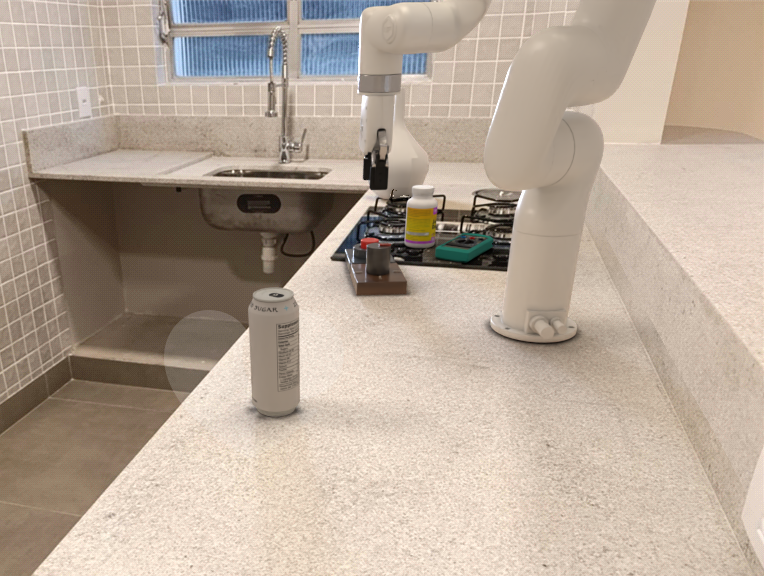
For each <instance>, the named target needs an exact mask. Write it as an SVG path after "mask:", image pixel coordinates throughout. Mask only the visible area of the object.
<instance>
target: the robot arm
mask: <svg viewBox="0 0 764 576" xmlns="http://www.w3.org/2000/svg"><path fill="white" fill-rule="evenodd" d="M656 2H657V0H579V2H578V5H577V7H576V9H575V12H574V14H573V17H572V19H571V21H570V22H569V24H568V25H556V26H549V27H546V28H543V29H541V30H539V31H537V32H535V33H533V34H532V35H530V37H529V38H528V39H527V40H525V41H524V43H523V44H522V45H521V46H520V47H519V49H518V50H517V52H516V54H515V55H514V56H513V59H512V61H511V63H510V66H509V67H508V70H507V74H506V77H505V79H504V83H503V85H502V88H501V92H500V94H499V98H498V100H497V104H496V106H495V111H494V113H493V116H492V120H491V121H490V125H489V129H488V132H487V135H486V138H485V143H484V147H483V157H482V158H483V159H482V161H483V169H484V172H485V174H486V177H487V179H488V180H489V181H490V183H491V184H493V185H494V186H495V187H496V188H497V189H500V190H502V191H505V192H521V194H520V196H519V198H518V201H517V204H516V207H515V211H514V217H513V224H512V229H511V230H512V231H511V239H510V246H509V253H508V254H509V255H508V261H507V269H506V270H507V271H506V277H505V278H506V279H505V287H504V294H503V302H502V310H500V311H497V312H495V313H494V314H493V315H491V317H490V323H489V326H490V327H491V330H493V331H494V332H496V333H497V334H499V335H502V336H504V337H506V338H509V339H513V340H517V341H522V342H528V343H530V342H531V343H543V344H544V343H545V344H546V343H558V342H564V341H568V340H570V339H572V338H573V337H574V336H576V334H577V332H578V323H577V322H576V321H575V319H573V318H571V317H569V313H570V306H571V300H572V295H573V288H574V282H575V277H576V272H577V266H578V259H579V254H580V247H581V242H582V235H583V230H584V227H585V226H584V225H585V219H586V214H587V209H588V205H589V200H590V196H591V193H592V190H593V186H594V183H595V180H596V178H597V175H598V172H599V169H600V167H601V164H602V160H603V156H604V155H603V154H604V149H605V139H604V135H603V131H602V128H601V127H600V125H599V123H598V122H597V121H596V120H595V119H594V118H593V117H591V116H590V115H588V114H585V113H584V112H579V111H574V110H567V108H575V107H576V108H577V107H584V106H589V105H595V104H599V103H602V102H604V101H606V100H608V99H609V98H610V97H612V96H614V95H615V93H616V92H617V91H618V89H619V88H620V87H621V85H622V83H623V81H624V79H625V78H626V75H627V72H628V71H629V68H630V66H631V63H632V60H633V58H634V56H635V53H636V51H637V49H638V46H639V45H640V41H641V40H642V37H643V35H644V33H645V30H646V28H647V26H648V23H649V21H650V18H651V16H652V13H653V10H654V8H655V5H656ZM491 3H492V0H442V1H405V2H403V1H402V2H397V3H393V4H391V5H378V6H377V5H376V6H369V7H366V8H364V9H363V10H362V11H361V14H360V20H359V42H358V43H359V45H358V47H359V48H358V73H357V74H358V76H357V81H358V82H357V95H358V96H362V100H361V105H360V106H361V108H360V120H359V121H360V122H359V136H358V149H359V150H360V151H361V152H362V154H363V157H364V158H363V163H362V180H363V181H368V180H370V185H368V186H369V188H368V189H369V190H370V191H372V190H387V188H388V172H389V167H388V154H389V153H390V152H391V148H392V138H393V120H394V106H395V95H399V94H401V88H402V78H403V77H402V75H403V59H404V55H417V54H435V53H442V52H446V51H448V50H450V49H452V48H453V47H455V46H457V44H459V43H460V42H461V41H462V40H463V39H464V38H466V36H468V35H469V34H470V33H471V32H472V31H473V30H474V29H475V28H476V27H478V25H479V24H480V23H481V21H483V19H484V18H485V16H486V15H487V13H488V11H489V8H490V6H491ZM366 158H367V159H366Z"/></svg>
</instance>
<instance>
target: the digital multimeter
mask: <svg viewBox="0 0 764 576" xmlns="http://www.w3.org/2000/svg"><path fill="white" fill-rule="evenodd" d="M492 243H493V245H492ZM493 247H494V238H493V237H492V236H490V235H486V234H482V233H472V232H463V233H461V234H459V235H458V236H456V237H454V238H452V239H450V240H448V241H446V242H444V243H441V244H440V245H438V246H436V247H435V250H434V257H435V258H436V259H438V260H442V261H448V262H455V263H463V264H467V263H468V262H470V261H472V260H473V259H475V258H477V257H478V256H480V255H482V254H484V253H485V252H487V251H489V250H490V249H492V248H493Z"/></svg>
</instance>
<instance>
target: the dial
mask: <svg viewBox="0 0 764 576" xmlns="http://www.w3.org/2000/svg"><path fill="white" fill-rule="evenodd" d="M391 255H392V243H391V242H389V243H388V242H387V243H386V242H379V243H371V244H368V245H367V254H366V273H368V274H370V275H386V274H388V273H390V257H391Z"/></svg>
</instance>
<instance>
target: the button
mask: <svg viewBox="0 0 764 576" xmlns="http://www.w3.org/2000/svg"><path fill="white" fill-rule="evenodd" d="M360 243H361V248H362V249H367V245H368V244H371V243H380V239H378V238H375V237H364V238H361V239H360Z"/></svg>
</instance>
